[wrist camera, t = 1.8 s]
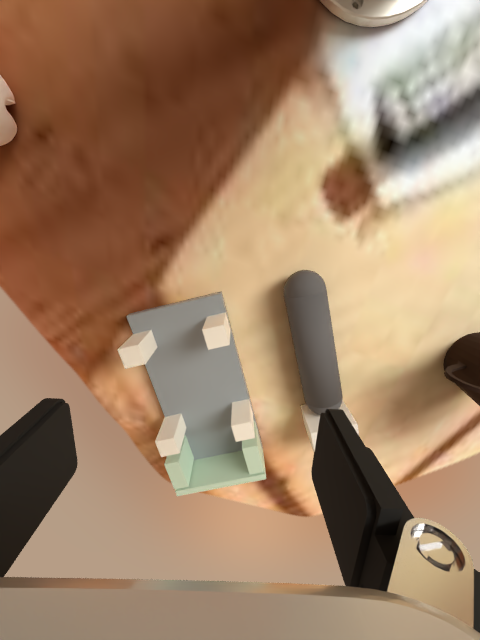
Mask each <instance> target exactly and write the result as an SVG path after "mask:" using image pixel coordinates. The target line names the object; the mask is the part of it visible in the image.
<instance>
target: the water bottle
mask: <svg viewBox="0 0 480 640" xmlns="http://www.w3.org/2000/svg"><path fill="white" fill-rule="evenodd" d="M11 104H16V103H15V101H14V96H13V94H12V92H11V90H10V88H9V87H8V85H7V83H6V82H5V80H4V79H3V78H2V77H1V75H0V146H2V145H5V144H7V143H9V142H10V141H12V139H13V138H14V137H15V135H16V133H17V125H16V123H15V121H14V119H13V118H12V116H11V115H10V114H9V112H8V111H7V109H6V106H5V105H11Z"/></svg>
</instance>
